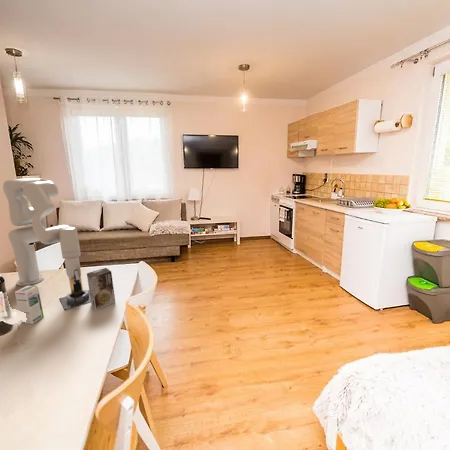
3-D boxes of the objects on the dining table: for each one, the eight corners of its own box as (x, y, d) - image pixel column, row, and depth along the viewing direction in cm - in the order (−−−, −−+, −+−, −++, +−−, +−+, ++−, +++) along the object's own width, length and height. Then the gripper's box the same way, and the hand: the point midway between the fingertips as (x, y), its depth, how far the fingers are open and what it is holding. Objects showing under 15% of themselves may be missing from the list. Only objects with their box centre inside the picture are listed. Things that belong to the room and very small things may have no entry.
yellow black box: (70, 292, 131) (67, 275, 130) (81, 289, 134) (79, 273, 133) (72, 295, 128) (69, 279, 126) (84, 292, 131) (81, 276, 129)
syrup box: (32, 324, 112) (26, 292, 108) (20, 323, 113) (14, 291, 110) (44, 316, 117) (38, 285, 114) (32, 315, 118) (26, 285, 115)
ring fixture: (59, 298, 133) (58, 293, 132) (90, 290, 141) (89, 285, 141) (64, 310, 122) (63, 304, 122) (97, 300, 131) (96, 294, 130)
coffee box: (110, 298, 132) (106, 267, 129) (115, 302, 128) (112, 270, 124) (90, 305, 126) (86, 272, 123) (95, 310, 122) (91, 276, 118)
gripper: (59, 251, 131) (64, 285, 135) (65, 259, 118) (71, 297, 122) (76, 247, 136) (81, 281, 139) (84, 255, 123) (89, 292, 127)
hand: (76, 288), depth 131 cm, fingers closed on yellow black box, 5 cm apart
